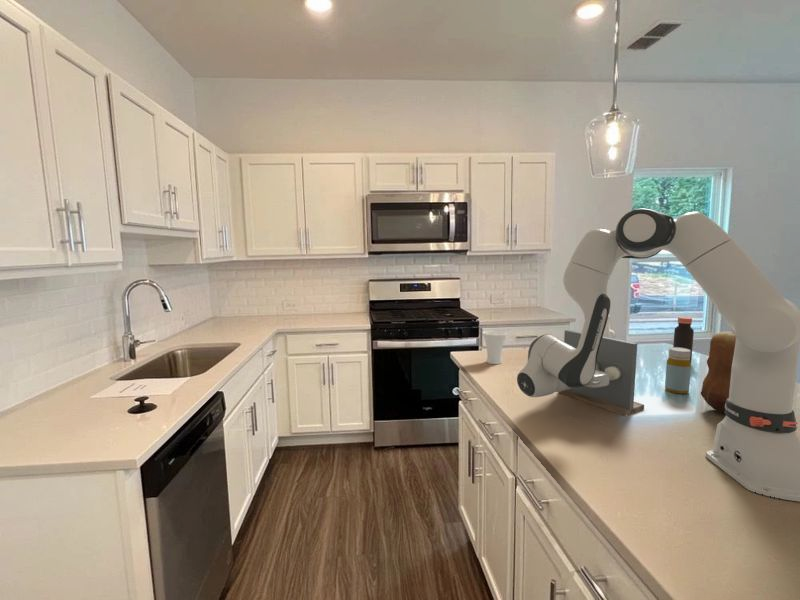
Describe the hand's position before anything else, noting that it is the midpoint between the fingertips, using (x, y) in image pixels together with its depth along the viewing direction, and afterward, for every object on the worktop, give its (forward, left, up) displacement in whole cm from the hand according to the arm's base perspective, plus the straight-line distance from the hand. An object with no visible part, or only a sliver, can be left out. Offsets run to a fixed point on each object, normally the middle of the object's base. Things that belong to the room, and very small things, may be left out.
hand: (590, 368), depth 131 cm
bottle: (+21, -31, -12) cm, 40 cm away
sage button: (+1, -1, -2) cm, 2 cm away
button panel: (+4, -4, -12) cm, 13 cm away
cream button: (-4, -6, -2) cm, 7 cm away
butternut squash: (+3, -39, -12) cm, 41 cm away
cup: (+42, +33, -12) cm, 54 cm away
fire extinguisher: (+27, -9, -12) cm, 31 cm away
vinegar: (+60, -45, -12) cm, 76 cm away
